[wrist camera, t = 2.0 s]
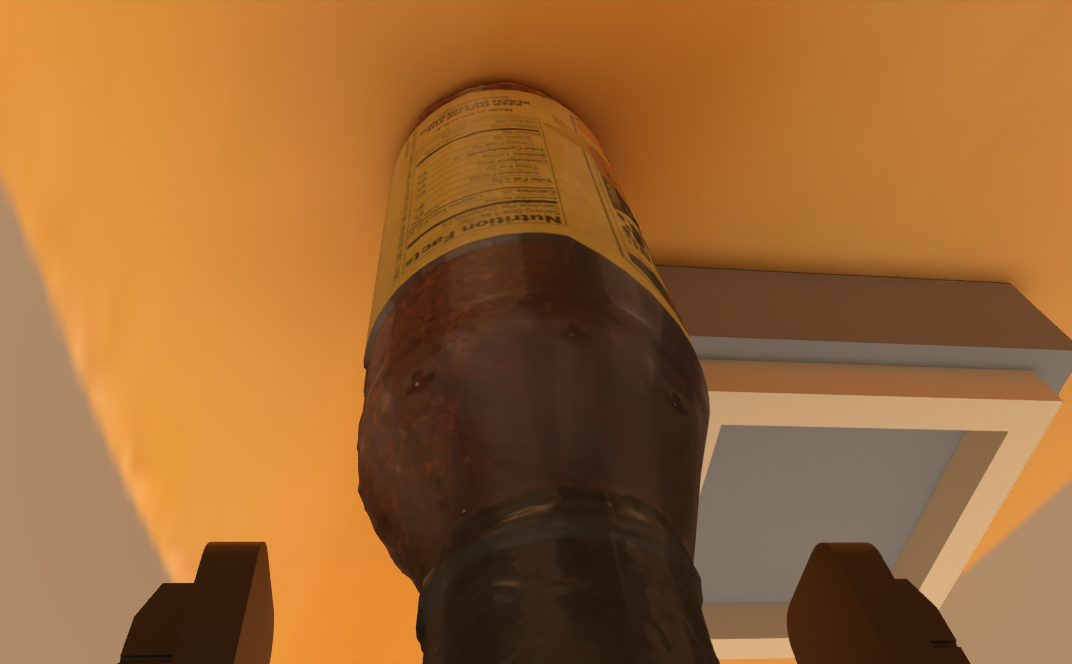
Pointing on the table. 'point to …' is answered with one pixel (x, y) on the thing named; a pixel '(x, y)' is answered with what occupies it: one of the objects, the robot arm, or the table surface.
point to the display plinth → (855, 428)
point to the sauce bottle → (530, 399)
